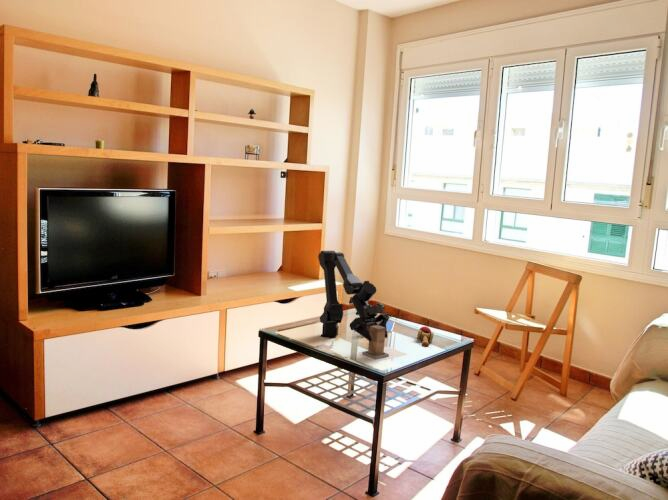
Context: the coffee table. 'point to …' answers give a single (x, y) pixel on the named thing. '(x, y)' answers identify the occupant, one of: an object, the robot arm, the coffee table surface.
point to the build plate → (386, 355)
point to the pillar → (376, 340)
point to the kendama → (425, 336)
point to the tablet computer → (389, 326)
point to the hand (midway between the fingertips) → (379, 339)
